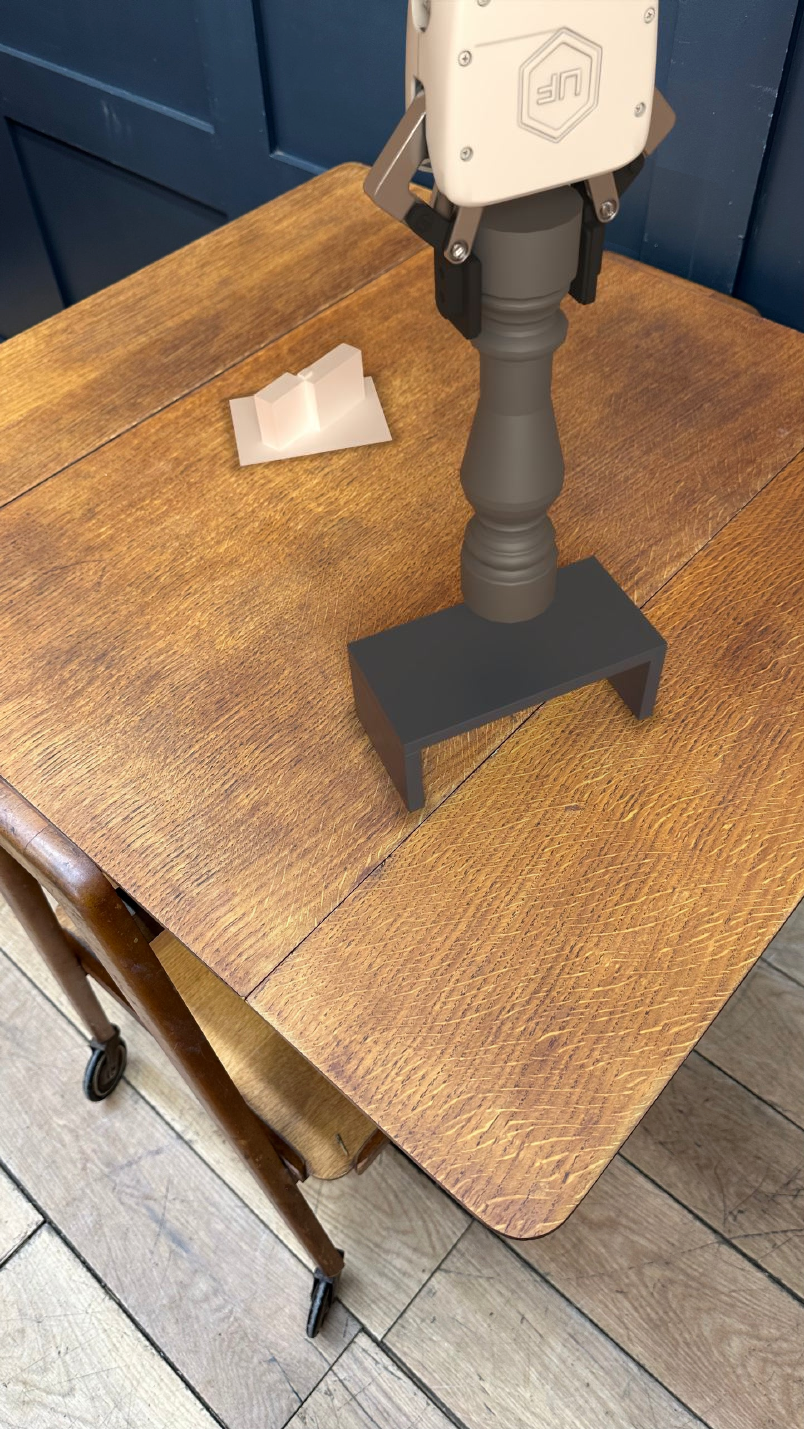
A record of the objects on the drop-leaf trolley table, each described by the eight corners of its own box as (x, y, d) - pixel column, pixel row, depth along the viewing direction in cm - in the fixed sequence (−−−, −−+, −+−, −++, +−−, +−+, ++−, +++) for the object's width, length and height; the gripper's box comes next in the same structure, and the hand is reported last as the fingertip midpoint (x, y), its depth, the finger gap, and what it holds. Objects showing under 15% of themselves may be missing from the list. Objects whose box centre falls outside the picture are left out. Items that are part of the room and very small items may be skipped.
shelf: (584, 628, 83) (594, 554, 77) (652, 715, 77) (668, 643, 71) (356, 714, 79) (346, 643, 72) (409, 813, 73) (403, 745, 67)
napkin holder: (370, 375, 107) (366, 324, 102) (393, 439, 100) (390, 388, 95) (227, 400, 105) (216, 349, 101) (240, 467, 98) (229, 416, 94)
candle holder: (572, 605, 66) (613, 216, 47) (484, 634, 65) (489, 248, 45) (529, 546, 70) (551, 162, 50) (445, 572, 69) (434, 190, 49)
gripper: (358, -81, 34) (391, 395, 48) (792, -166, 38) (705, 299, 52) (281, -130, 38) (333, 318, 52) (677, -203, 42) (625, 235, 56)
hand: (518, 305), depth 52 cm, fingers closed on candle holder, 5 cm apart
